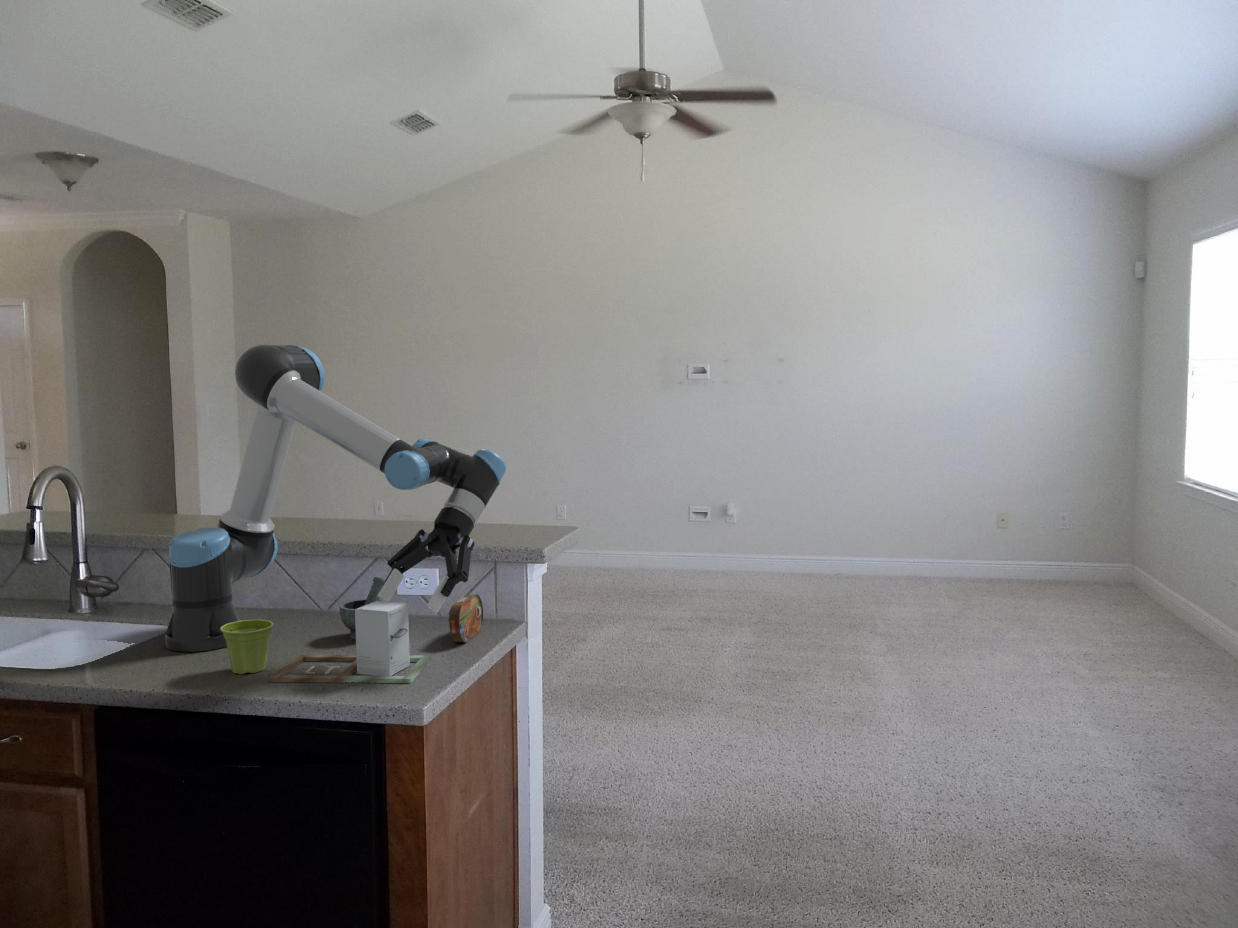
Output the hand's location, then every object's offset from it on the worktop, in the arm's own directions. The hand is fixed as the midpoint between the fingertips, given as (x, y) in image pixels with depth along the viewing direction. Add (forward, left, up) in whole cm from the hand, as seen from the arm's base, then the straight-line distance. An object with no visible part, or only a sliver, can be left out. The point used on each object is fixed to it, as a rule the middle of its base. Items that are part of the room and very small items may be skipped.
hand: (406, 604), depth 184 cm
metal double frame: (-9, -4, -12) cm, 15 cm away
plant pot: (-30, -4, -12) cm, 32 cm away
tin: (+7, +19, -12) cm, 23 cm away
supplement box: (-4, -4, -12) cm, 13 cm away
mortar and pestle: (-15, +20, -12) cm, 27 cm away
